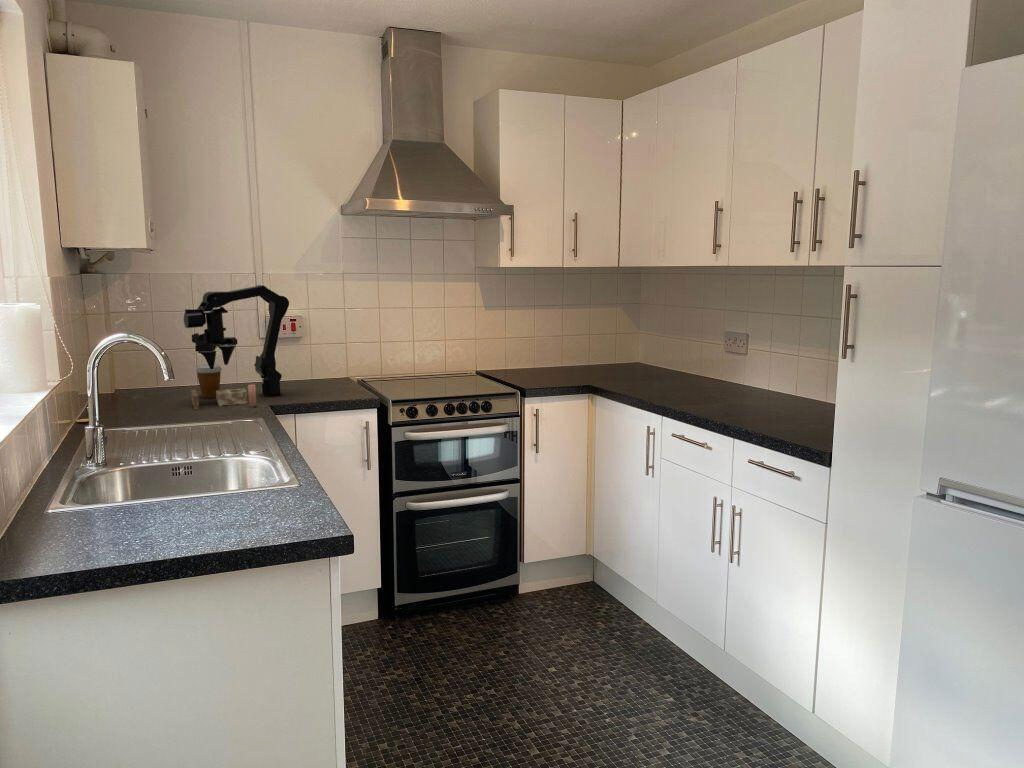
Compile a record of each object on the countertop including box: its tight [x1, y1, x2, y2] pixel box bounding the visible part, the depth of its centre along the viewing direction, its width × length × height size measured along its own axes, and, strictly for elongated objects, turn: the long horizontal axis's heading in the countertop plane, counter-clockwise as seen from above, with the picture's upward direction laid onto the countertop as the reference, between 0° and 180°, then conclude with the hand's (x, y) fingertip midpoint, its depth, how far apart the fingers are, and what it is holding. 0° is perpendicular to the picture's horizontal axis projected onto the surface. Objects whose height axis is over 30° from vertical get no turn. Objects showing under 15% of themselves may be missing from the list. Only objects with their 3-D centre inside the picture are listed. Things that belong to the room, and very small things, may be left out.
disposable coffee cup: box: [195, 364, 222, 399], centre depth 295 cm, size 10×10×12 cm
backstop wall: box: [190, 389, 200, 410], centre depth 277 cm, size 2×13×5 cm, turn 27°
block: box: [215, 388, 249, 407], centre depth 283 cm, size 10×8×4 cm
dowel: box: [247, 384, 257, 408], centre depth 276 cm, size 3×3×8 cm
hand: (219, 366), depth 285 cm, fingers open, 9 cm apart
